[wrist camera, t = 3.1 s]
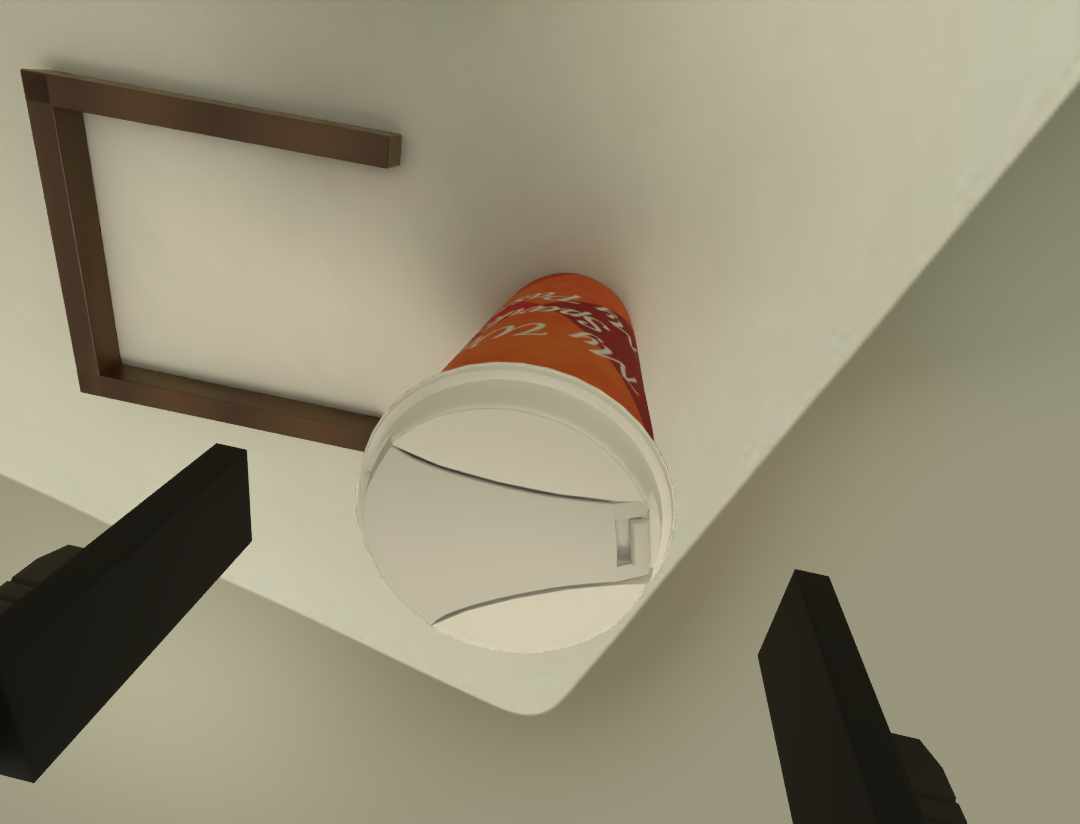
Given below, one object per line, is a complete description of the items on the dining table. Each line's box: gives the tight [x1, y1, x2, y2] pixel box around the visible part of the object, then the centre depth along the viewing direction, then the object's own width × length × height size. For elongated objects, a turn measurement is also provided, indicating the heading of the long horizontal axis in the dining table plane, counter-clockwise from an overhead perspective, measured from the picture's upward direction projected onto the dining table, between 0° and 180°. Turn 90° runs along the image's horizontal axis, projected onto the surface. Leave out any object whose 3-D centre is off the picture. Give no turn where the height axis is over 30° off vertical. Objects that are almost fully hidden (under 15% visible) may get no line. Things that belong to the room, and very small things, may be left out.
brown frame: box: [20, 69, 401, 452], centre depth 29 cm, size 15×14×2 cm
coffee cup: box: [355, 273, 676, 653], centre depth 22 cm, size 8×8×15 cm
